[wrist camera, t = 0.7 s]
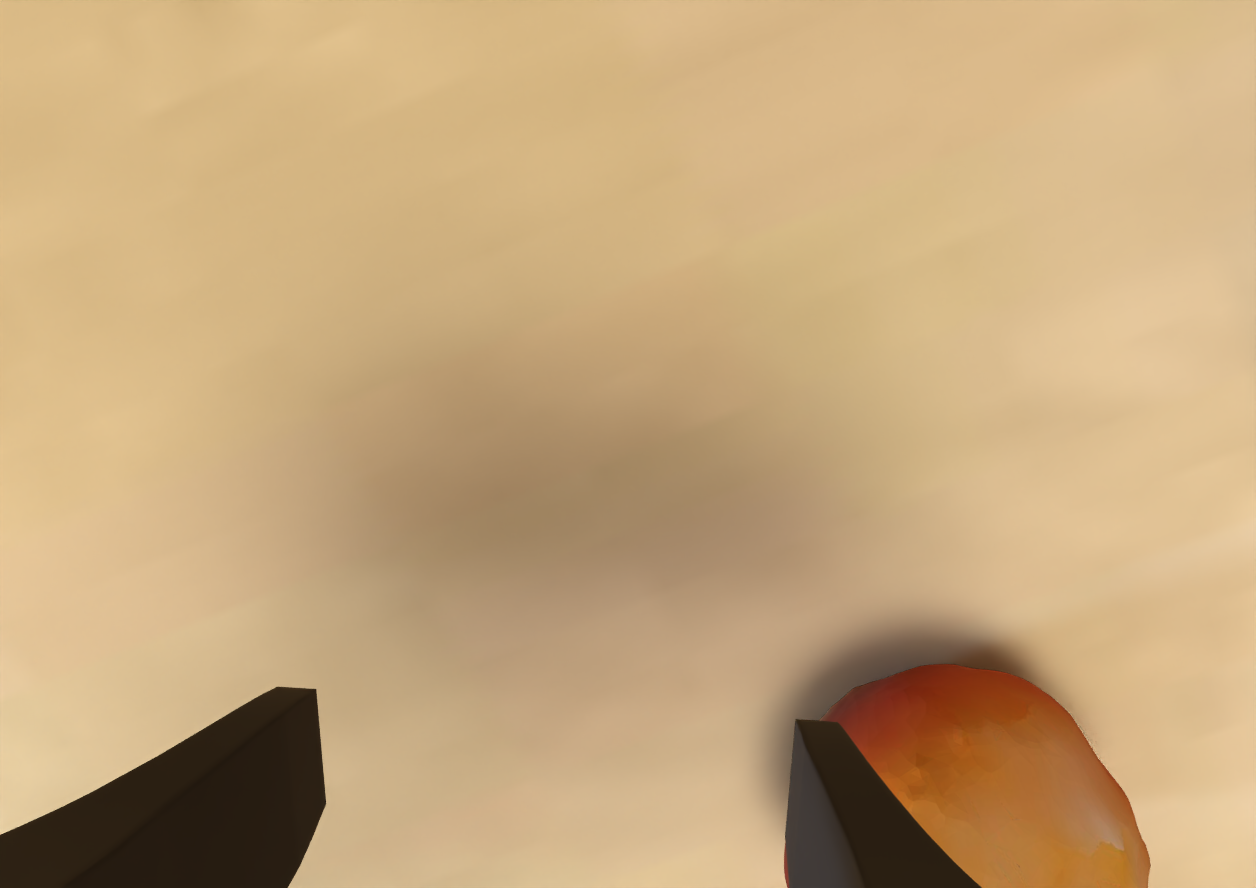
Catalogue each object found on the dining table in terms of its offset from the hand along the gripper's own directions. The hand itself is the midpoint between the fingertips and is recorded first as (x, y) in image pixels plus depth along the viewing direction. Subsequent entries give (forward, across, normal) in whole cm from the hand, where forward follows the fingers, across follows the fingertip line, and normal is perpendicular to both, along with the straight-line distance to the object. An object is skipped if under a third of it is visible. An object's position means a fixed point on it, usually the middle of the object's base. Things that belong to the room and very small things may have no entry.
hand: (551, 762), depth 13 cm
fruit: (+10, -8, +6) cm, 15 cm away
